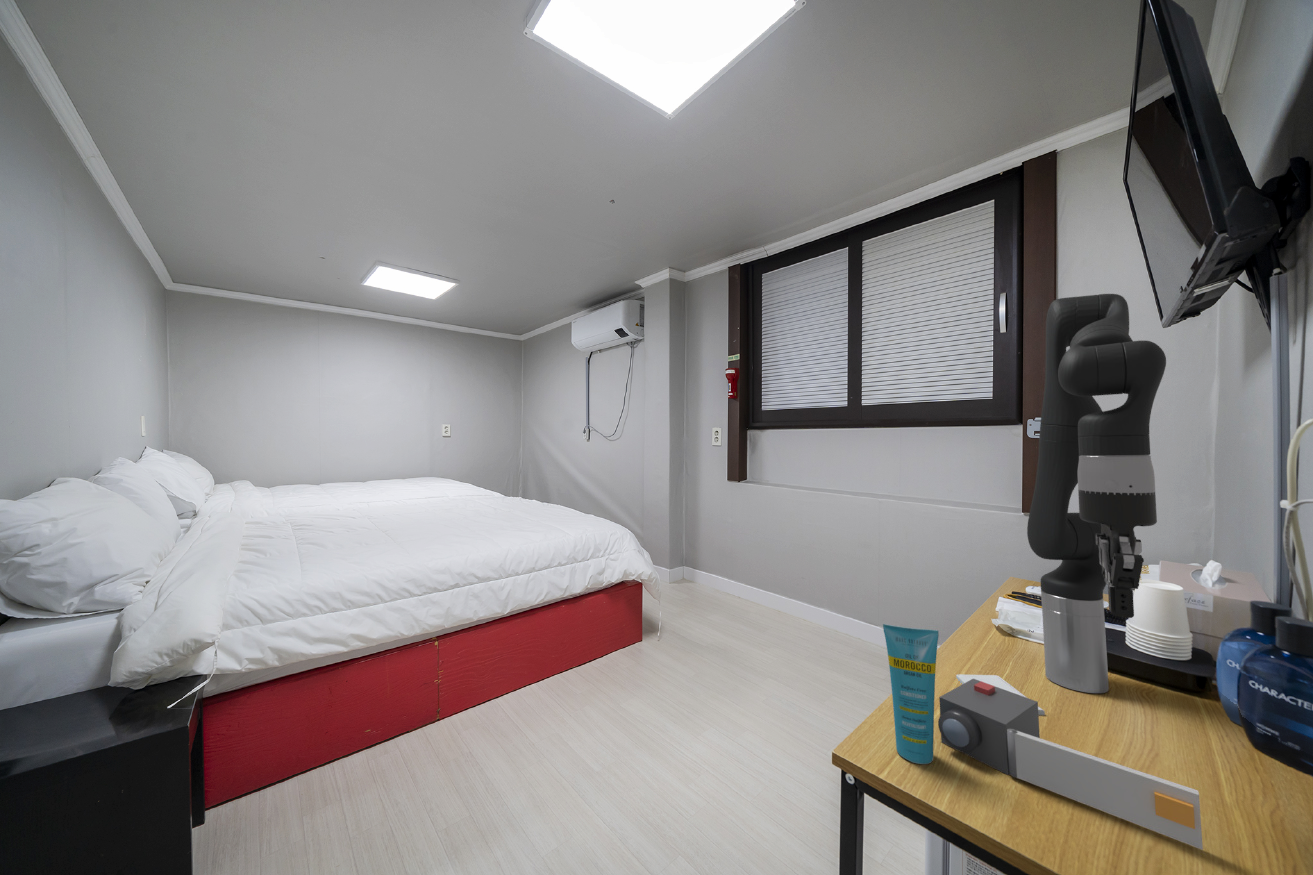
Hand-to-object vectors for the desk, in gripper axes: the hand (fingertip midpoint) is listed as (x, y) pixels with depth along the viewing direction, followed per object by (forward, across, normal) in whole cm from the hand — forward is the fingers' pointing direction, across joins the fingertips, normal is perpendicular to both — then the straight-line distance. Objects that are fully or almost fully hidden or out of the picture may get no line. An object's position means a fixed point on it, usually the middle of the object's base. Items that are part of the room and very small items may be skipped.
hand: (1121, 615), depth 63 cm
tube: (+24, -8, +24) cm, 35 cm away
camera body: (+23, 0, +16) cm, 28 cm away
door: (+23, -8, +4) cm, 24 cm away
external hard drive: (+24, +20, +14) cm, 34 cm away
